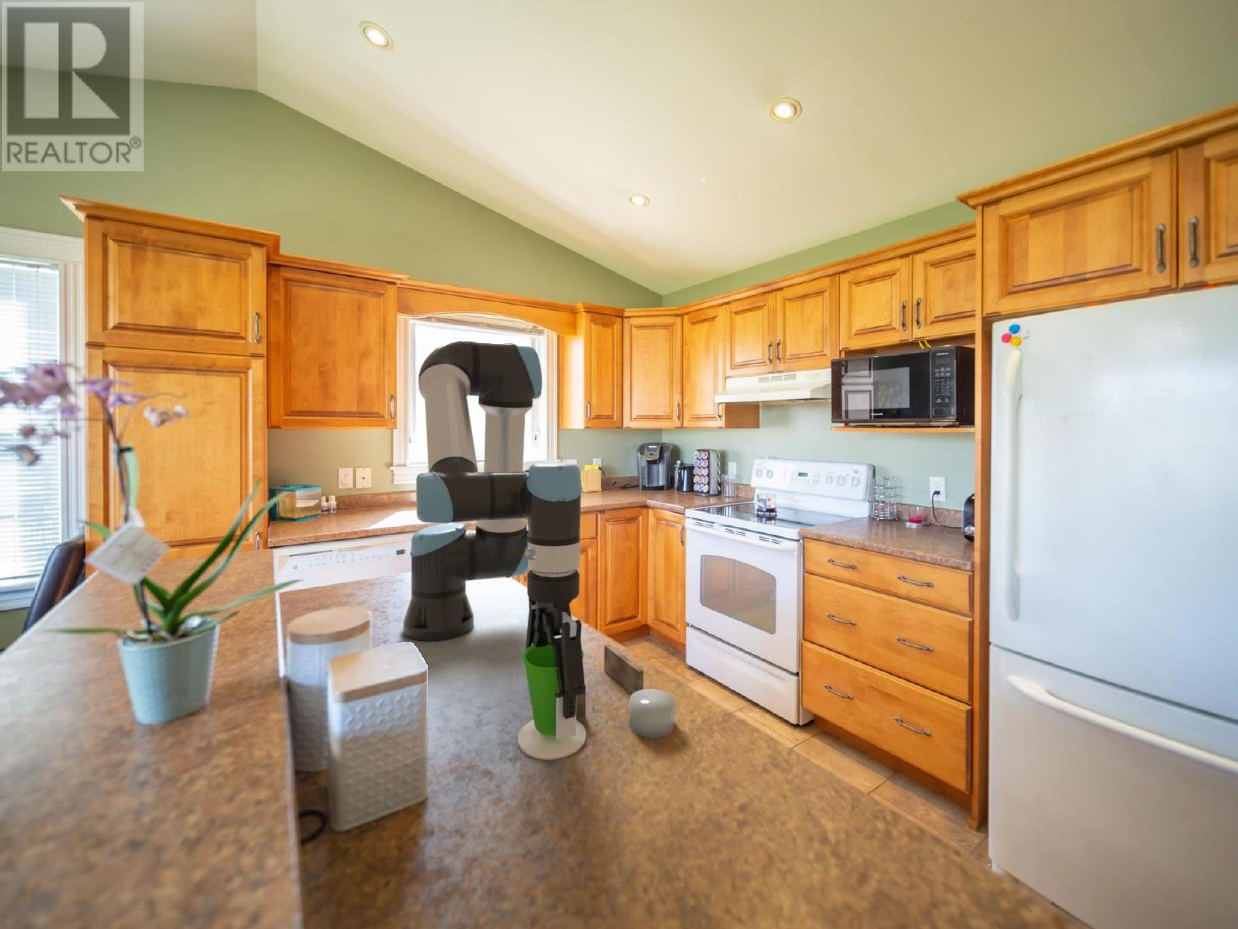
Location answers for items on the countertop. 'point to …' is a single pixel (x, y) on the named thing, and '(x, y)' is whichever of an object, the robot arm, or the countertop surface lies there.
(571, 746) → the white oval pebble
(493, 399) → the robot arm
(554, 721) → the cup
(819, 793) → the countertop surface
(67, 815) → the countertop surface
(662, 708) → the grey rounded puck
